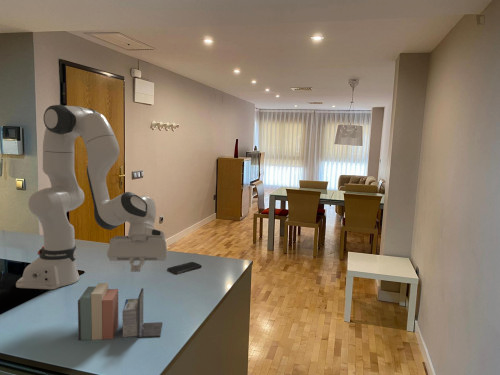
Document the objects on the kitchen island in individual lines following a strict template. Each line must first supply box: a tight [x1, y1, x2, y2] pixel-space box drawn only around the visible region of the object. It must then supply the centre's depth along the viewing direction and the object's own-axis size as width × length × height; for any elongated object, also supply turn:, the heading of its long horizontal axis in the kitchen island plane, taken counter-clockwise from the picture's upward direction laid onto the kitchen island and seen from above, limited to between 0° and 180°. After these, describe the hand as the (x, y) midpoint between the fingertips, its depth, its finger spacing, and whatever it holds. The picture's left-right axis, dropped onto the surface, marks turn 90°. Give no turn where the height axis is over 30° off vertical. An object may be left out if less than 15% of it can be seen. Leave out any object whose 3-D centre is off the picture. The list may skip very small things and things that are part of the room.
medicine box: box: [121, 298, 138, 338], centre depth 110 cm, size 8×4×9 cm, turn 12°
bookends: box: [77, 288, 163, 341], centre depth 109 cm, size 23×8×12 cm, turn 99°
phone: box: [166, 261, 203, 275], centre depth 166 cm, size 8×1×15 cm
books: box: [79, 282, 119, 341], centre depth 108 cm, size 9×8×14 cm
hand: (135, 271), depth 122 cm, fingers closed
